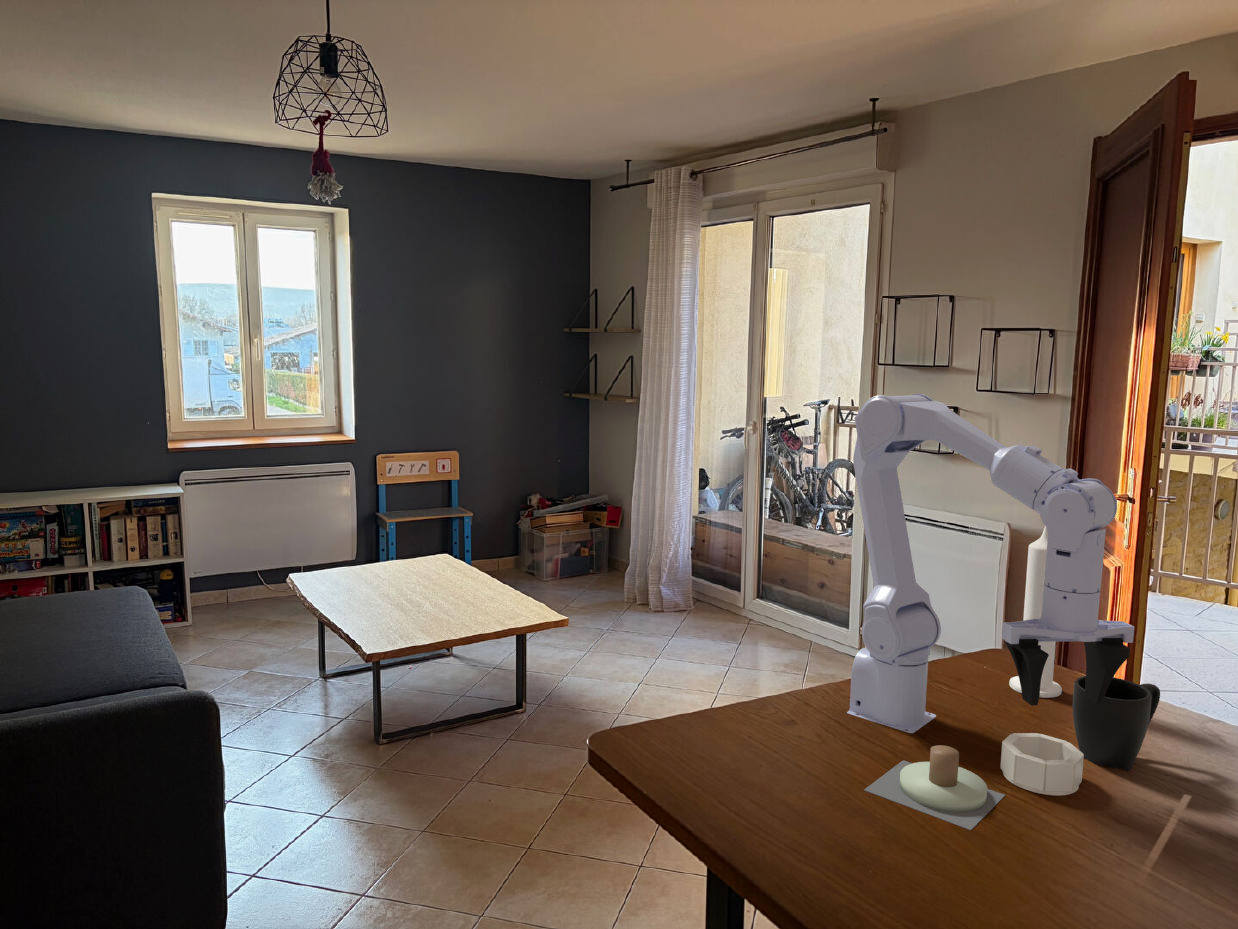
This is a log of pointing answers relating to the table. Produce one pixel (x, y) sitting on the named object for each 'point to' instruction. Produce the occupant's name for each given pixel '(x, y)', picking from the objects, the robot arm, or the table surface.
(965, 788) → the lid
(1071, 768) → the bowl
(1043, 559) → the candle
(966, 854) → the table surface
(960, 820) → the mat
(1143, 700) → the mug
